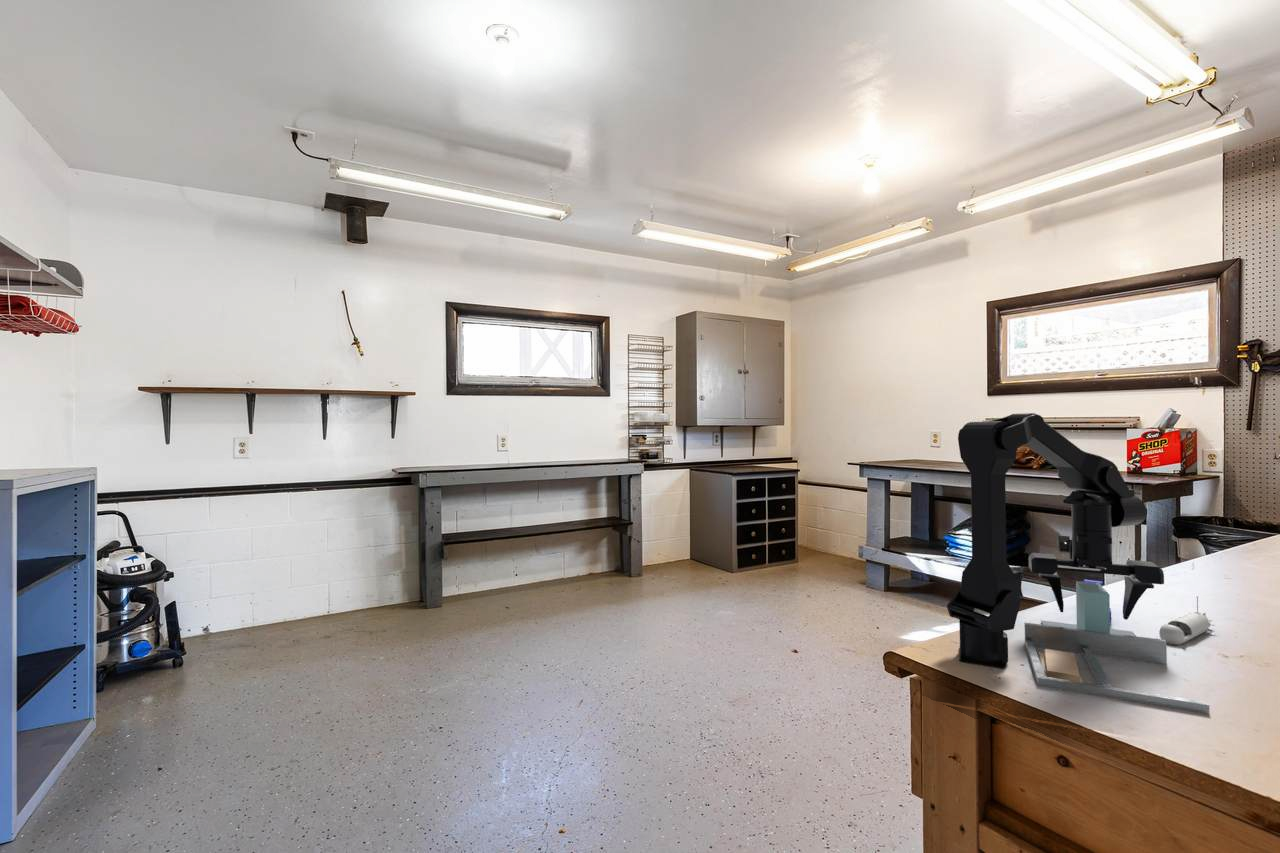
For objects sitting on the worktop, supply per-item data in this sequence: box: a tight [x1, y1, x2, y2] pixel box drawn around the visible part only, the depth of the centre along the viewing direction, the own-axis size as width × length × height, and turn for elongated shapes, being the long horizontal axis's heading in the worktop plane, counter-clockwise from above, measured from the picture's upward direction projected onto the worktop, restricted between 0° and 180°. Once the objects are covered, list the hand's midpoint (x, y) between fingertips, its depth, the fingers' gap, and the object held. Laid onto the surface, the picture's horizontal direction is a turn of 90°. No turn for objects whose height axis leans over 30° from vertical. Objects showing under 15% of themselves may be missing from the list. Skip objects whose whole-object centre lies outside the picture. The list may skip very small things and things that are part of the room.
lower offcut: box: [1037, 652, 1084, 683], centre depth 93 cm, size 4×12×1 cm, turn 152°
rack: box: [1023, 622, 1210, 715], centre depth 90 cm, size 19×19×4 cm
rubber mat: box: [1040, 620, 1137, 636], centre depth 105 cm, size 14×14×1 cm
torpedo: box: [1158, 596, 1216, 646], centre depth 107 cm, size 18×5×7 cm, turn 121°
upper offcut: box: [1044, 648, 1081, 682], centre depth 92 cm, size 4×10×1 cm, turn 147°
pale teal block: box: [1075, 580, 1111, 633], centre depth 105 cm, size 4×8×9 cm, turn 152°
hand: (1092, 615), depth 105 cm, fingers open, 9 cm apart
